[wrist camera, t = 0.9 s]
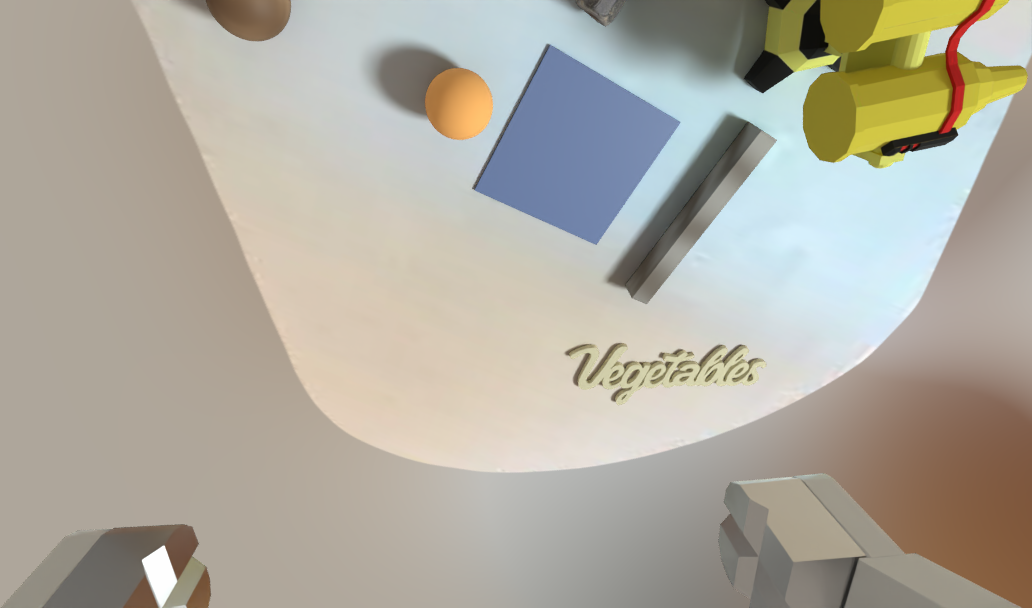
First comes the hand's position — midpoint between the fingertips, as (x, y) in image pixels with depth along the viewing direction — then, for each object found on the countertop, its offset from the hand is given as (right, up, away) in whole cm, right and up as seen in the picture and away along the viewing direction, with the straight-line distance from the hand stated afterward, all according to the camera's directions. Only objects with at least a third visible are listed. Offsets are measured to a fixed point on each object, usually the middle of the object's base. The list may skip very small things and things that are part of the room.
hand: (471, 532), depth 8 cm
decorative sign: (+20, -5, +60) cm, 64 cm away
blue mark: (+6, +17, +41) cm, 45 cm away
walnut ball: (-18, +25, +29) cm, 42 cm away
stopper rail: (+18, +13, +46) cm, 52 cm away
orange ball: (-4, +20, +35) cm, 40 cm away
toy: (+27, +28, +37) cm, 54 cm away
